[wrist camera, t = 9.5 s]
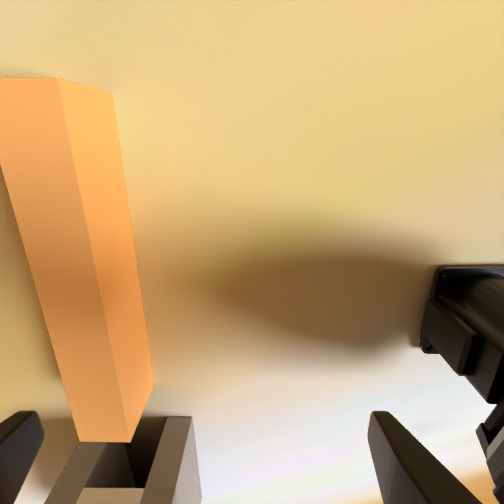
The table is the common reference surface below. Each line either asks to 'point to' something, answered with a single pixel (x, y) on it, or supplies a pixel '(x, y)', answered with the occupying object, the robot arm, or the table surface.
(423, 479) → the robot arm
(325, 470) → the table surface
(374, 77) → the table surface
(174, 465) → the dispenser
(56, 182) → the orange rectangular bar
